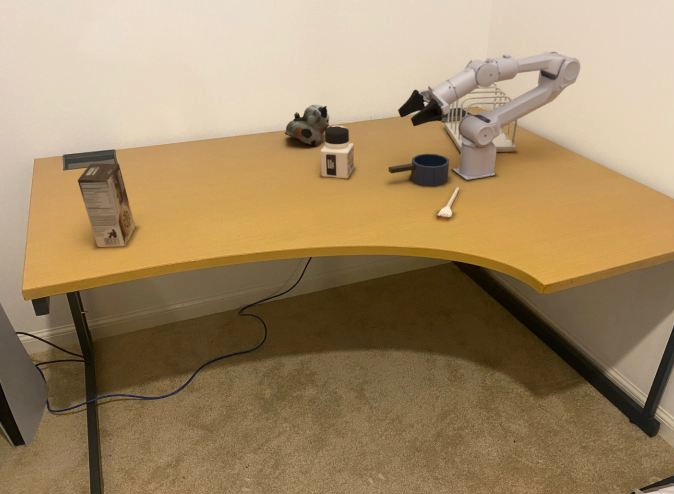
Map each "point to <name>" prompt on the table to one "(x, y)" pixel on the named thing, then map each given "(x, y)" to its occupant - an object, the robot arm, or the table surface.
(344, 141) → the container
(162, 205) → the table surface
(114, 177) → the coffee box
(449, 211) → the fork
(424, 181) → the pot
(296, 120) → the lucky cat figurine
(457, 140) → the file sorter
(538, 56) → the robot arm
